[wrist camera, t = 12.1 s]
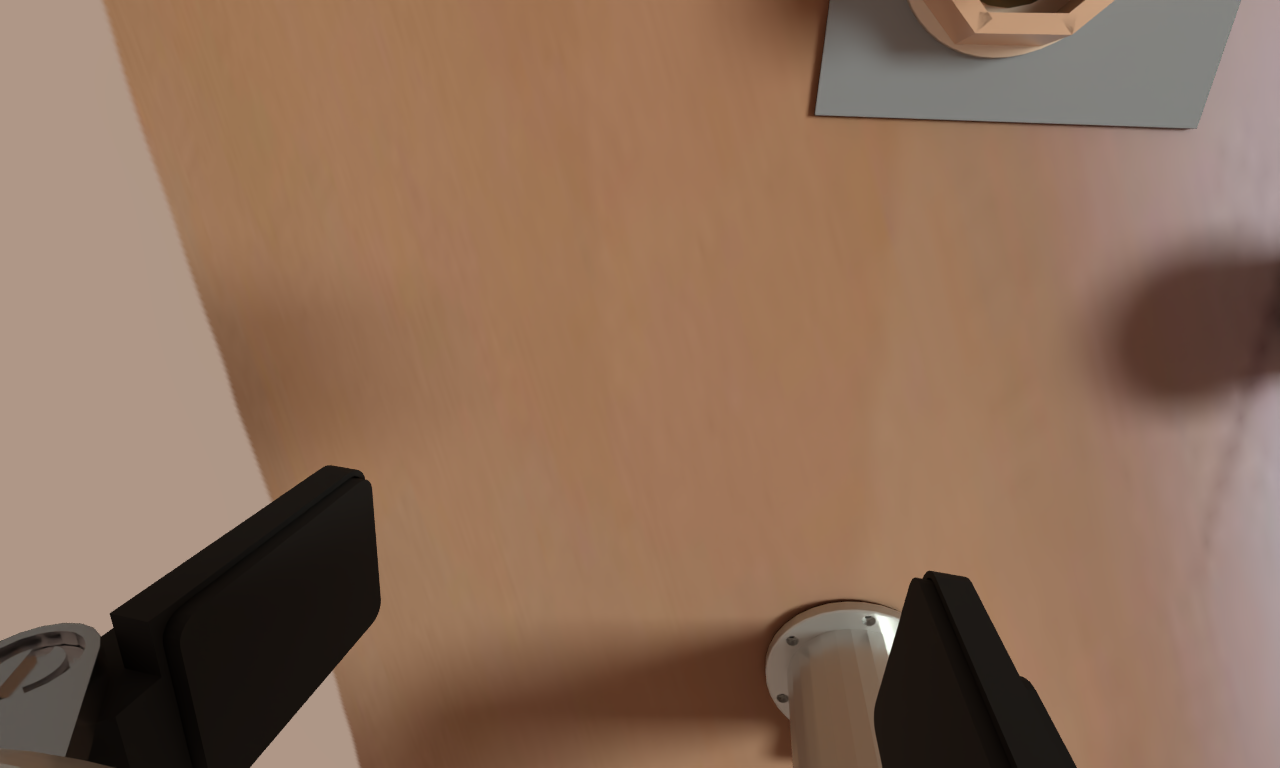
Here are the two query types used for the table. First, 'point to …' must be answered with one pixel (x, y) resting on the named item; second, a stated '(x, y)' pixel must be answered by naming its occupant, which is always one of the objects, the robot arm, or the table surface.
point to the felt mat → (1028, 68)
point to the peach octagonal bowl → (1002, 24)
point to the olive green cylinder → (1008, 3)
